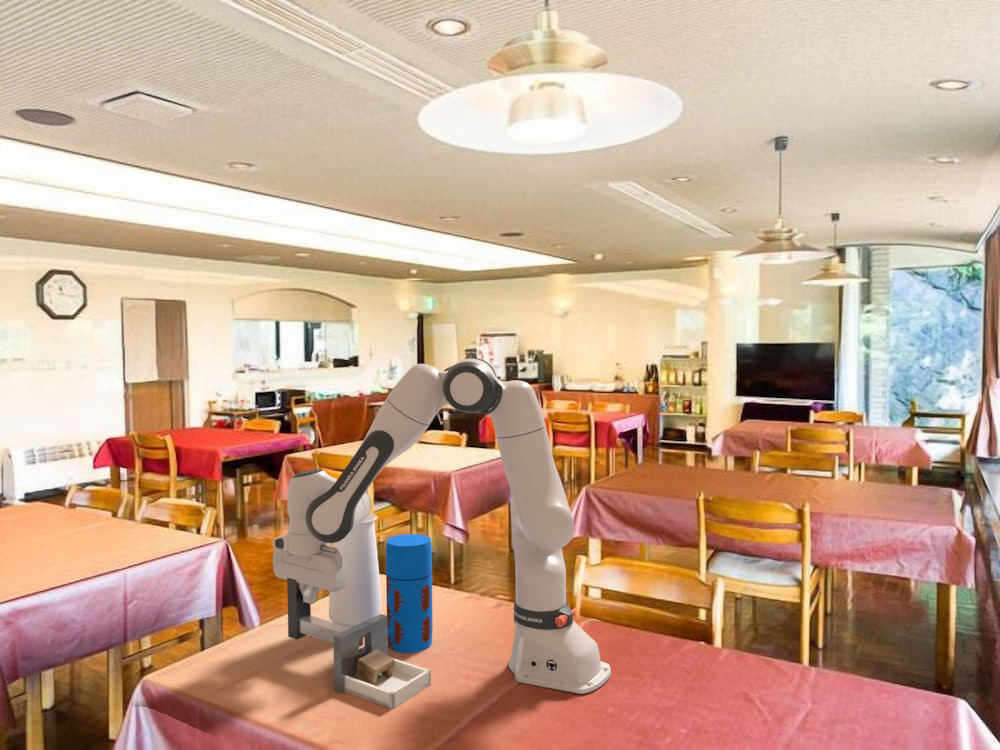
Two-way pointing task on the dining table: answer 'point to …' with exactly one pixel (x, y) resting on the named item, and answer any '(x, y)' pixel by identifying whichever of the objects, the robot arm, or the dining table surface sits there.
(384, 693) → the tray
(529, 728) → the dining table surface
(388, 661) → the block
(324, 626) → the shaft
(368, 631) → the bearing wall
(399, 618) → the thermos
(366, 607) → the vase
